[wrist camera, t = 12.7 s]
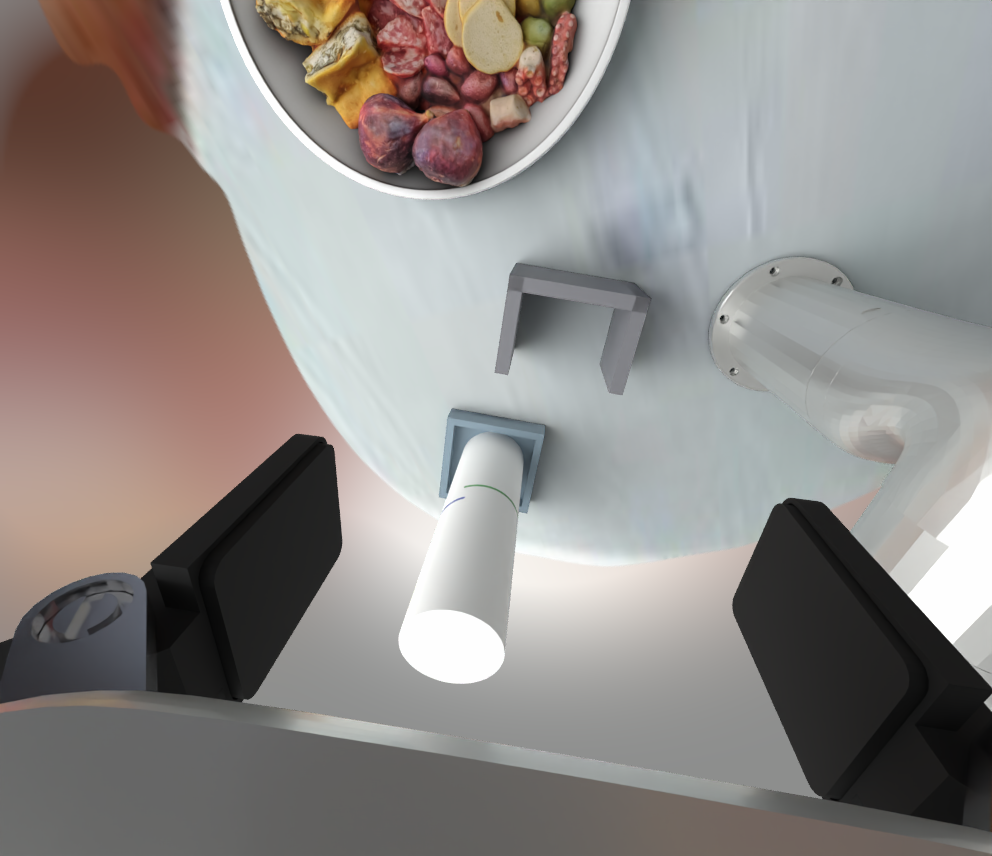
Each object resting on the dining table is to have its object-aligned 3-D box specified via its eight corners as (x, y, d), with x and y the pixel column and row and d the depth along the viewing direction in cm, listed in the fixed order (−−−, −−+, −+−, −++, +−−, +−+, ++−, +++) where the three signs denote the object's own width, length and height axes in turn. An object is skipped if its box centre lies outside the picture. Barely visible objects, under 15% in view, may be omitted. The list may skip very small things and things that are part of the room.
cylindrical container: (450, 448, 52) (377, 629, 30) (503, 421, 50) (466, 595, 28) (483, 494, 55) (438, 693, 32) (535, 470, 52) (524, 667, 30)
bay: (634, 282, 43) (651, 298, 36) (611, 366, 47) (622, 395, 40) (516, 263, 43) (509, 274, 36) (502, 347, 47) (494, 372, 40)
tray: (544, 425, 51) (544, 434, 48) (527, 501, 55) (527, 513, 53) (451, 408, 51) (447, 417, 49) (443, 485, 56) (438, 497, 54)
